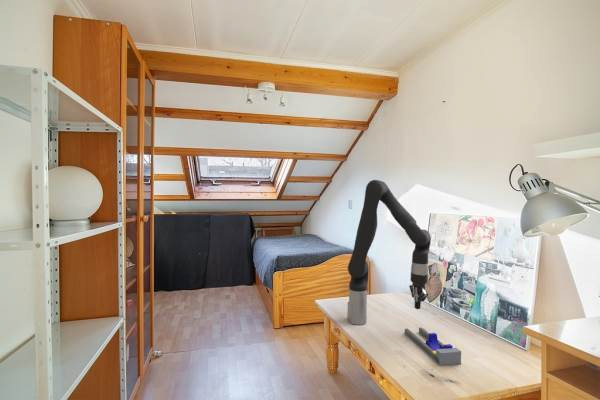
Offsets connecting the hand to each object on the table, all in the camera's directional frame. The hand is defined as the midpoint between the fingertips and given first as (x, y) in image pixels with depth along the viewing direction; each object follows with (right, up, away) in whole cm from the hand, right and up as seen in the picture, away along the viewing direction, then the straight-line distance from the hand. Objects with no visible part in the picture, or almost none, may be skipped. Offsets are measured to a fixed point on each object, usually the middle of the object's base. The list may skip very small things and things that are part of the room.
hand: (417, 308), depth 146 cm
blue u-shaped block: (+4, -14, -14) cm, 21 cm away
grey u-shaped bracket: (+2, -14, -9) cm, 16 cm away
